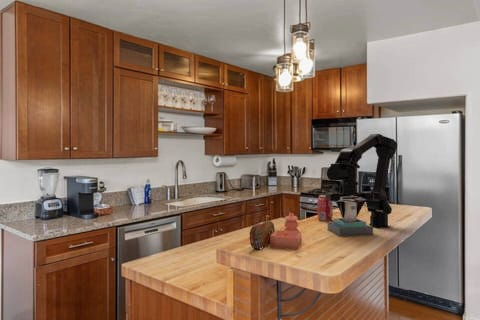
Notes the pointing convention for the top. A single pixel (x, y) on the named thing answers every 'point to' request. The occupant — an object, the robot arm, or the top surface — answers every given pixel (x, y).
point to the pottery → (287, 235)
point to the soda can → (324, 208)
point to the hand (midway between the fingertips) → (349, 217)
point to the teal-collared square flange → (350, 228)
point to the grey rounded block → (350, 212)
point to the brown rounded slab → (261, 234)
